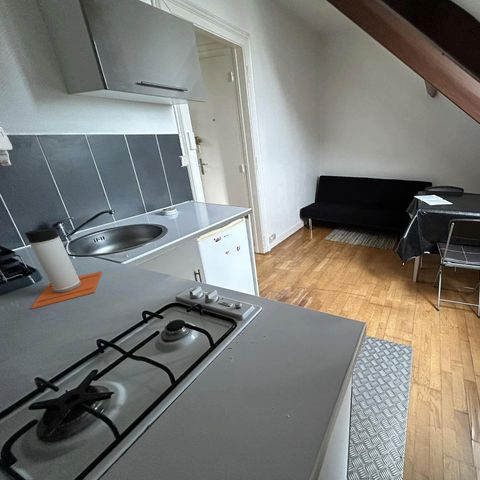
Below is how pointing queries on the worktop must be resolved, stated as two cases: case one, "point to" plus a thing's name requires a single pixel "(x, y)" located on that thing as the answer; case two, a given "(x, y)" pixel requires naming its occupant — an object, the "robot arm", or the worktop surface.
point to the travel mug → (54, 259)
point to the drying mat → (85, 288)
